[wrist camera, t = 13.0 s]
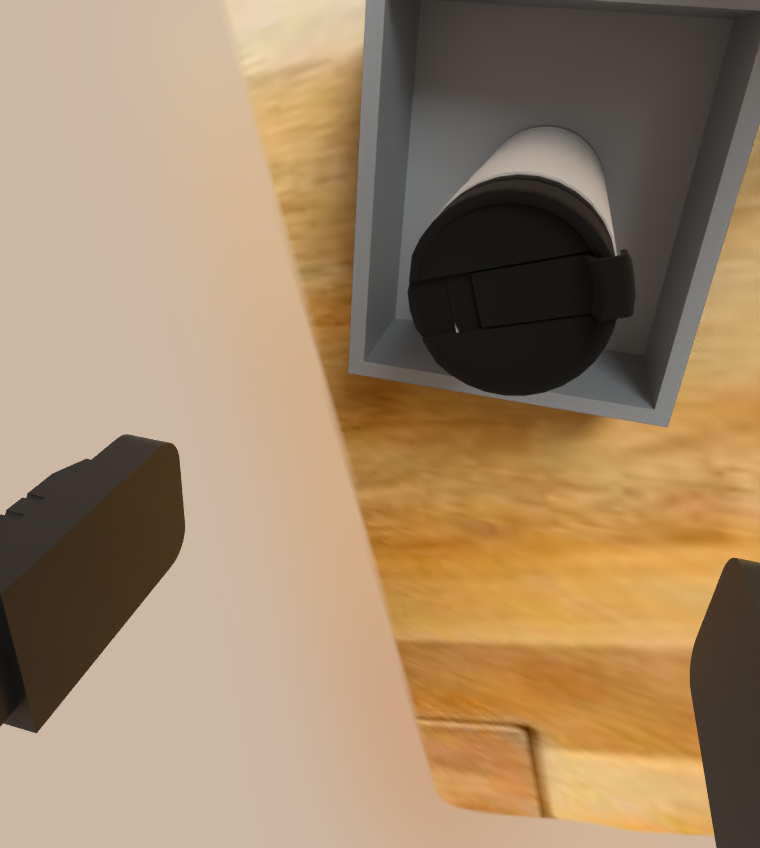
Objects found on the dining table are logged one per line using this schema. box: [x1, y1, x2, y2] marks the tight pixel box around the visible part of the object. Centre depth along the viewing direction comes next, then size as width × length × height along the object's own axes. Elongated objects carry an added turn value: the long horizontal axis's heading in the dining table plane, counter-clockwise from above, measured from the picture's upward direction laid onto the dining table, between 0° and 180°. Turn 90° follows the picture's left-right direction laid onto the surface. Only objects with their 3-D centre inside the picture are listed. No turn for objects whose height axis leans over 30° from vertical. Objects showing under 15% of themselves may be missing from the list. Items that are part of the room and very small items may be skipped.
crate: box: [348, 0, 760, 427], centre depth 34 cm, size 18×16×8 cm
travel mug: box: [407, 125, 636, 396], centre depth 28 cm, size 6×7×20 cm
